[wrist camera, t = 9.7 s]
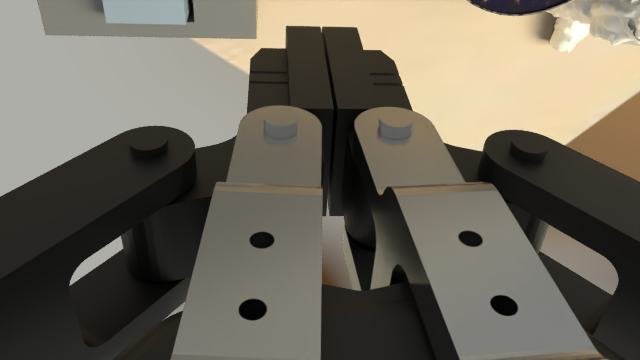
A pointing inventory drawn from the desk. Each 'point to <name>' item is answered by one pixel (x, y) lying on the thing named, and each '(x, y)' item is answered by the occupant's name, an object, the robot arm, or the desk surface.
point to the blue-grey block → (147, 11)
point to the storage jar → (517, 6)
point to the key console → (203, 22)
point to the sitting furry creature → (596, 22)
